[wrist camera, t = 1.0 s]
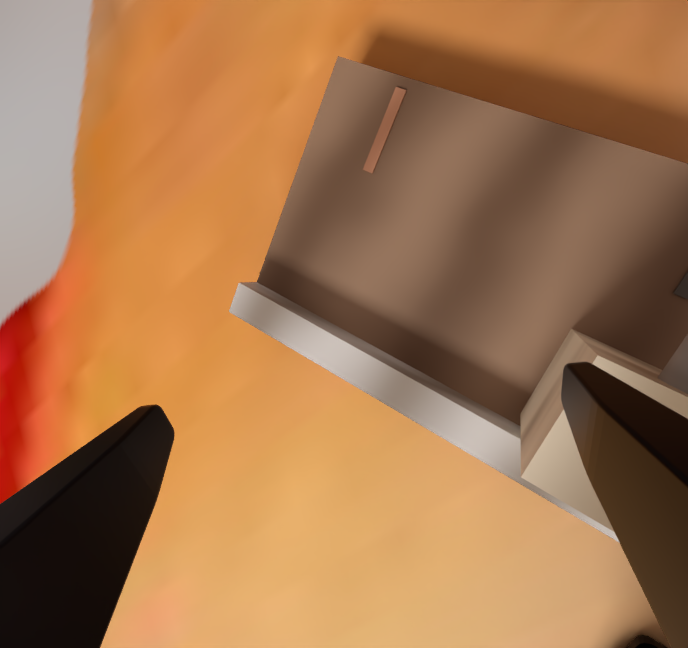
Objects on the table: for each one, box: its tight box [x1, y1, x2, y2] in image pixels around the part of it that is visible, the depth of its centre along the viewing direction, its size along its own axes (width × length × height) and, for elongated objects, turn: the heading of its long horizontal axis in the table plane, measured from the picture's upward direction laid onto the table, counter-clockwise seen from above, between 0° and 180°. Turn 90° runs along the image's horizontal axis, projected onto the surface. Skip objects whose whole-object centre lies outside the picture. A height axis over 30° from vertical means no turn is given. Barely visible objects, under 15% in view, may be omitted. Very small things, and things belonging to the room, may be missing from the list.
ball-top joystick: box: [520, 329, 688, 532], centre depth 12 cm, size 5×9×6 cm, turn 156°
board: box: [229, 56, 688, 543], centre depth 18 cm, size 20×13×4 cm, turn 66°
